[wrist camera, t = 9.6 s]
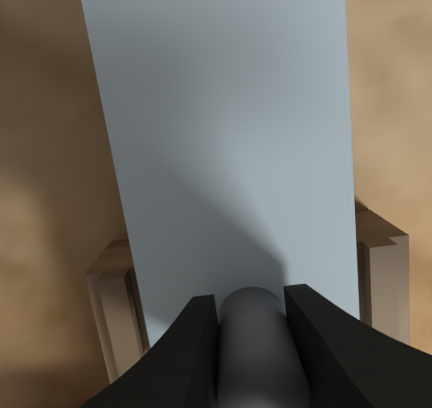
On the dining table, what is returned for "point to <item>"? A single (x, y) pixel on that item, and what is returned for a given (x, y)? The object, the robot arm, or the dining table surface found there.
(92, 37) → the lid
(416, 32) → the dining table surface
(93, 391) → the dining table surface
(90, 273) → the case
